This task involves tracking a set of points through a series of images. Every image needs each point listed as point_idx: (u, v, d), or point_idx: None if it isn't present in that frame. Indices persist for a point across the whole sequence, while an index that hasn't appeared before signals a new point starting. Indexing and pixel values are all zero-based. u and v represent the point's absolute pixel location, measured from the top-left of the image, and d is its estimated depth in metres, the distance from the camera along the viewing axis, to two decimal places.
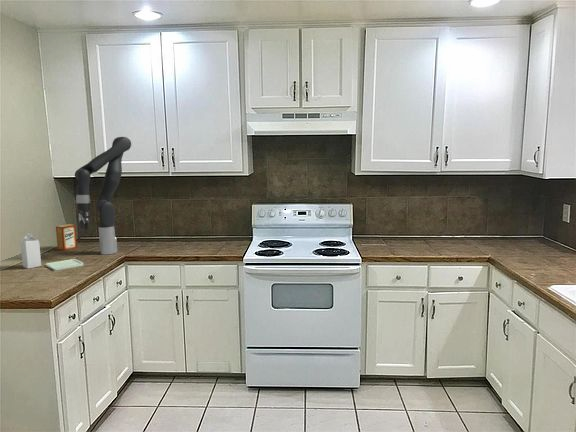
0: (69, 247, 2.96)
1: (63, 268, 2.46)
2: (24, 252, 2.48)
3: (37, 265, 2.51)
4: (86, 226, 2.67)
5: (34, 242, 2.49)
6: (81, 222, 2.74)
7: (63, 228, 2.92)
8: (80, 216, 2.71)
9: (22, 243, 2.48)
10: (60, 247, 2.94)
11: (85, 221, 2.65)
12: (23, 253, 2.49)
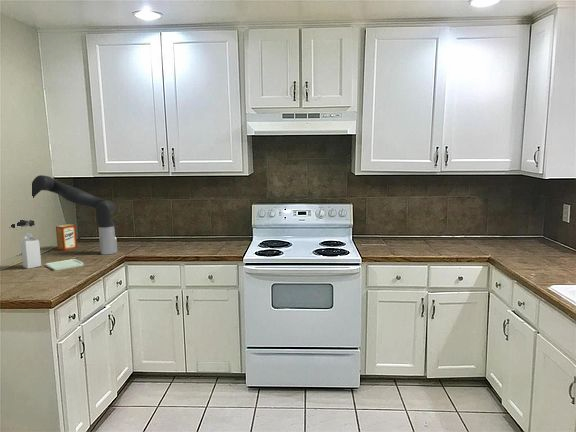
0: (69, 247, 2.96)
1: (63, 268, 2.46)
2: (24, 252, 2.48)
3: (37, 265, 2.51)
4: (11, 226, 2.55)
5: (34, 242, 2.49)
6: (29, 224, 2.62)
7: (63, 228, 2.92)
8: None
9: (22, 243, 2.48)
10: (60, 247, 2.94)
11: None
12: (23, 253, 2.49)
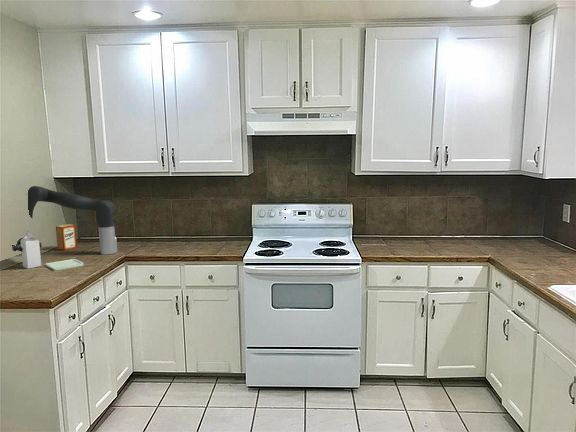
0: (69, 247, 2.96)
1: (63, 268, 2.46)
2: (24, 252, 2.48)
3: (37, 265, 2.51)
4: (18, 249, 2.49)
5: (34, 242, 2.49)
6: None
7: (63, 228, 2.92)
8: None
9: (22, 243, 2.48)
10: (60, 247, 2.94)
11: None
12: (23, 253, 2.49)
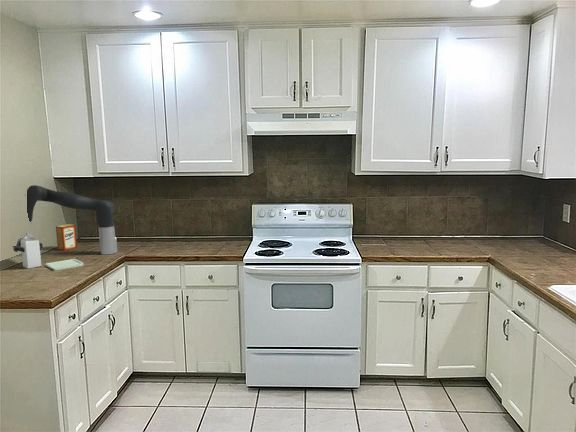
0: (69, 247, 2.96)
1: (63, 268, 2.46)
2: (24, 252, 2.48)
3: (37, 265, 2.51)
4: (20, 250, 2.47)
5: (34, 242, 2.49)
6: None
7: (63, 228, 2.92)
8: None
9: (22, 243, 2.48)
10: (60, 247, 2.94)
11: (15, 251, 2.49)
12: (23, 253, 2.49)
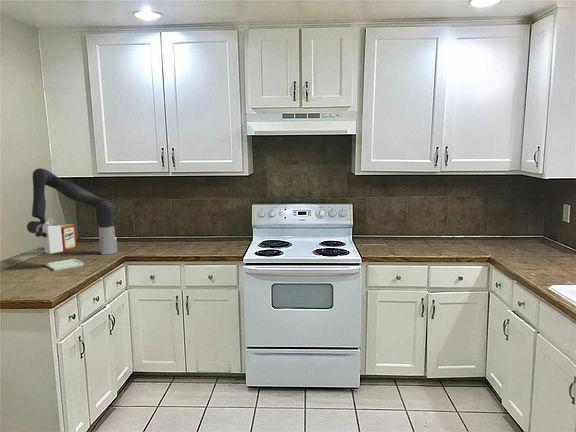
0: (69, 247, 2.96)
1: (63, 268, 2.46)
2: (46, 237, 2.48)
3: (59, 250, 2.51)
4: (42, 235, 2.47)
5: (56, 227, 2.49)
6: None
7: (63, 228, 2.92)
8: None
9: (44, 228, 2.48)
10: None
11: (37, 236, 2.49)
12: (45, 238, 2.49)
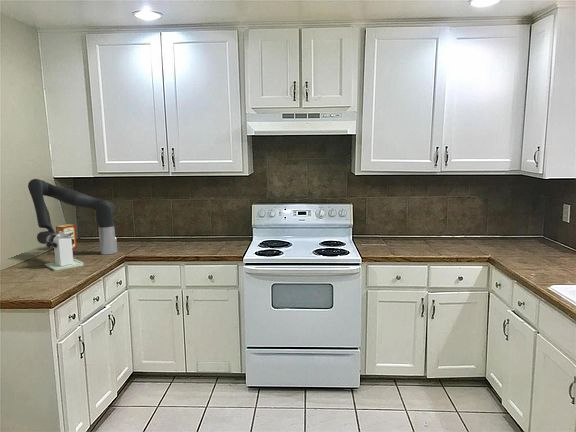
0: None
1: (63, 268, 2.46)
2: (57, 250, 2.50)
3: (69, 263, 2.53)
4: (52, 245, 2.49)
5: (67, 240, 2.51)
6: None
7: (63, 228, 2.92)
8: None
9: (55, 241, 2.50)
10: None
11: None
12: (56, 251, 2.51)
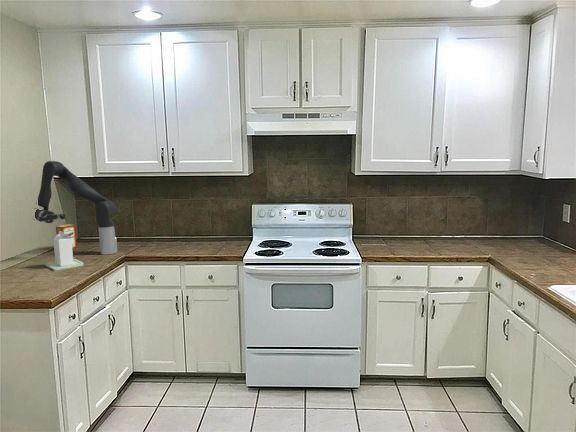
0: None
1: (63, 268, 2.46)
2: (57, 250, 2.49)
3: (69, 263, 2.53)
4: (44, 219, 2.60)
5: (67, 240, 2.50)
6: (60, 217, 2.67)
7: (63, 228, 2.92)
8: (54, 219, 2.69)
9: (55, 241, 2.50)
10: None
11: None
12: (56, 251, 2.51)
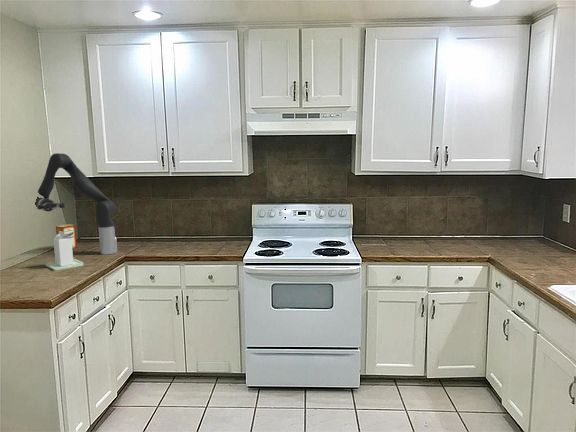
0: None
1: (63, 268, 2.46)
2: (57, 250, 2.49)
3: (69, 263, 2.53)
4: (43, 207, 2.61)
5: (67, 240, 2.50)
6: (59, 206, 2.68)
7: (63, 228, 2.92)
8: (53, 207, 2.70)
9: (55, 241, 2.50)
10: None
11: None
12: (56, 251, 2.51)
